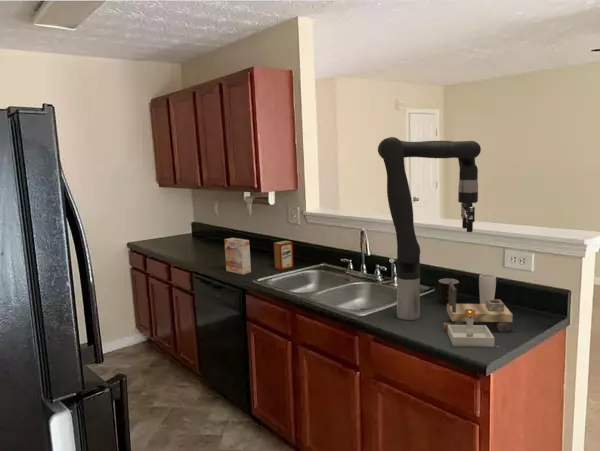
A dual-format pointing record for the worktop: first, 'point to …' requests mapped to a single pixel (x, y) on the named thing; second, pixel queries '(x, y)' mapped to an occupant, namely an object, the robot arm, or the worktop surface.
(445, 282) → the coffee mug
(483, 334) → the tray
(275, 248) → the baking soda box
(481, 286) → the drinking glass
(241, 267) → the coffeecake box
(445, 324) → the wheel chock
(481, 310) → the trolley
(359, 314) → the worktop surface
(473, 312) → the stop pin
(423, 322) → the worktop surface
